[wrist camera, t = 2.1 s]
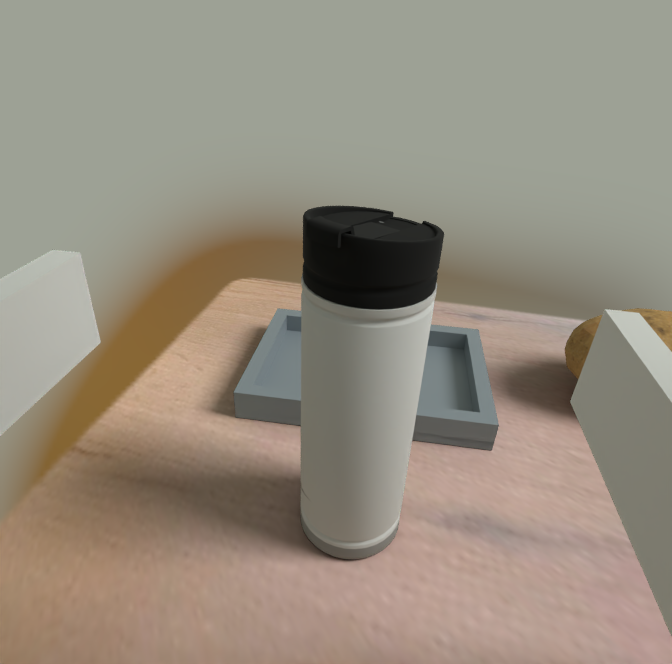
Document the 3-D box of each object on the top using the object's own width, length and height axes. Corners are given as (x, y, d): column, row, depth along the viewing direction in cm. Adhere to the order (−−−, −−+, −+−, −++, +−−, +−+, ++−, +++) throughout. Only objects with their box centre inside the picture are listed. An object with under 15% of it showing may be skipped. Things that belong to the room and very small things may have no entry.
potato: (529, 367, 47) (551, 292, 43) (665, 365, 48) (699, 292, 44) (581, 439, 38) (615, 354, 34) (745, 433, 40) (796, 351, 36)
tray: (473, 351, 49) (478, 329, 48) (491, 450, 37) (498, 425, 36) (278, 329, 51) (277, 308, 50) (235, 417, 39) (233, 392, 38)
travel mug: (275, 522, 31) (264, 207, 20) (344, 465, 35) (363, 182, 25) (352, 587, 27) (385, 247, 17) (417, 515, 32) (475, 210, 21)
